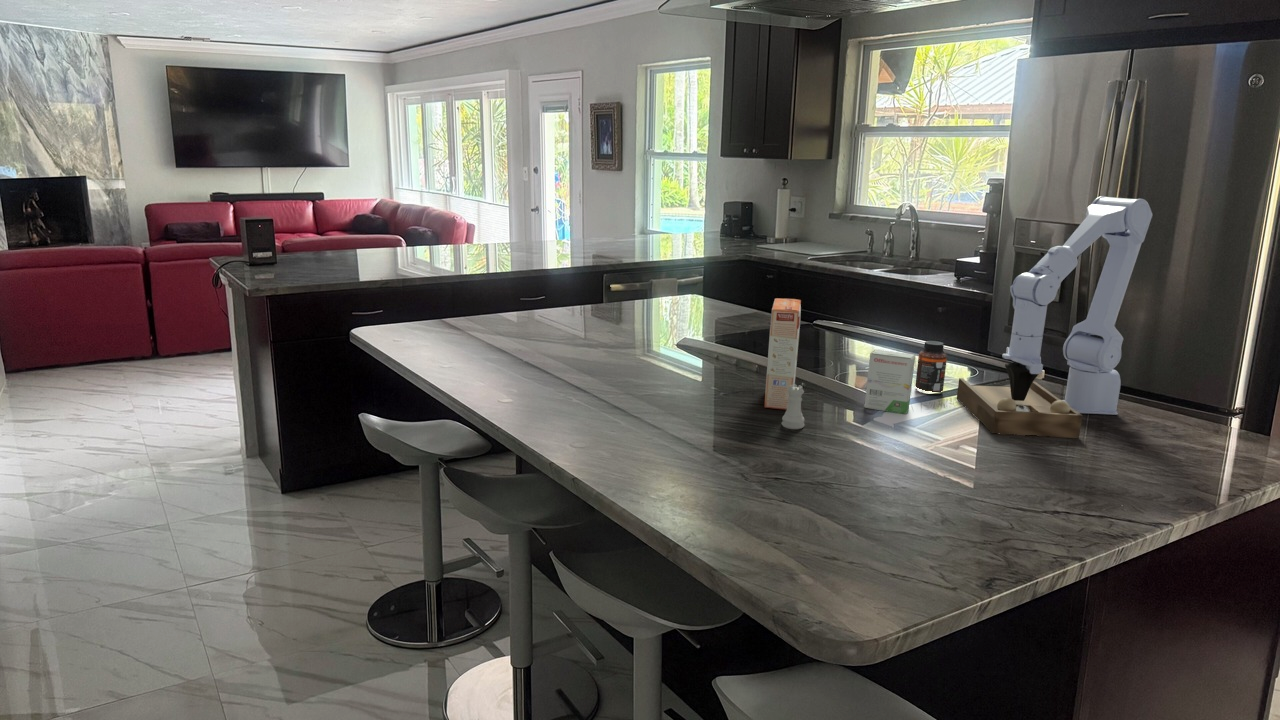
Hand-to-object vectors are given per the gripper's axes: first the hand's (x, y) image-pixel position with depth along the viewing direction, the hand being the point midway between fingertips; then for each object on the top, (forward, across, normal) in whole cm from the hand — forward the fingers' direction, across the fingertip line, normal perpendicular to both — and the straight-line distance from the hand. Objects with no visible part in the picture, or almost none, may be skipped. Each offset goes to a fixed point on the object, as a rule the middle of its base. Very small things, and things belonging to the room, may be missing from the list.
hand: (1017, 399), depth 173 cm
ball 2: (-1, +8, +5) cm, 9 cm away
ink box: (+4, -3, -25) cm, 26 cm away
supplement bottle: (+4, -17, -13) cm, 22 cm away
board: (+4, -1, 0) cm, 4 cm away
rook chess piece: (+4, +12, -46) cm, 48 cm away
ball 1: (-1, +8, -5) cm, 9 cm away
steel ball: (+2, +2, 0) cm, 3 cm away
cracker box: (+4, -5, -47) cm, 47 cm away
